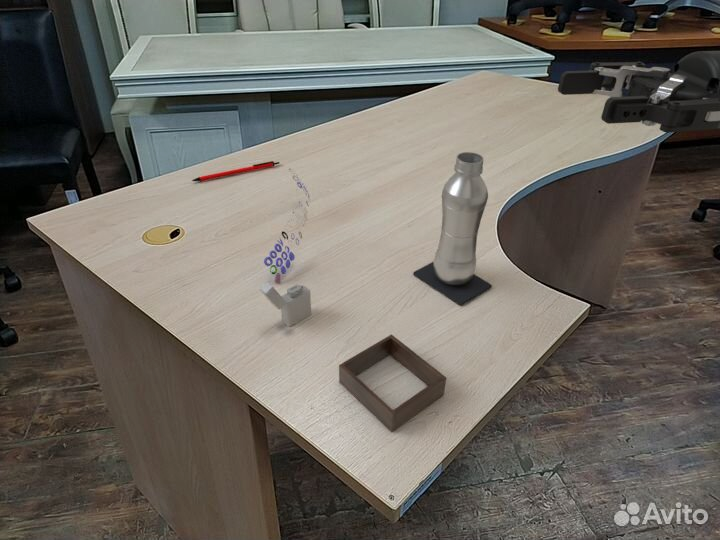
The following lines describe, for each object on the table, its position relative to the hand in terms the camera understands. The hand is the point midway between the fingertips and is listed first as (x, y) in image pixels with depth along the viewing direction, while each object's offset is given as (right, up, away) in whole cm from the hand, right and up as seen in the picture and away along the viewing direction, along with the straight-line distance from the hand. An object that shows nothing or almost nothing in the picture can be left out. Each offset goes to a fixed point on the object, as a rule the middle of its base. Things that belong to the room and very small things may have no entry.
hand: (581, 96), depth 51 cm
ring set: (-33, -12, +40) cm, 53 cm away
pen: (-48, +3, +61) cm, 77 cm away
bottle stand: (-18, -31, +13) cm, 38 cm away
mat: (-7, -19, +31) cm, 37 cm away
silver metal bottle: (-7, -18, +31) cm, 36 cm away
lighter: (-32, -24, +23) cm, 46 cm away
